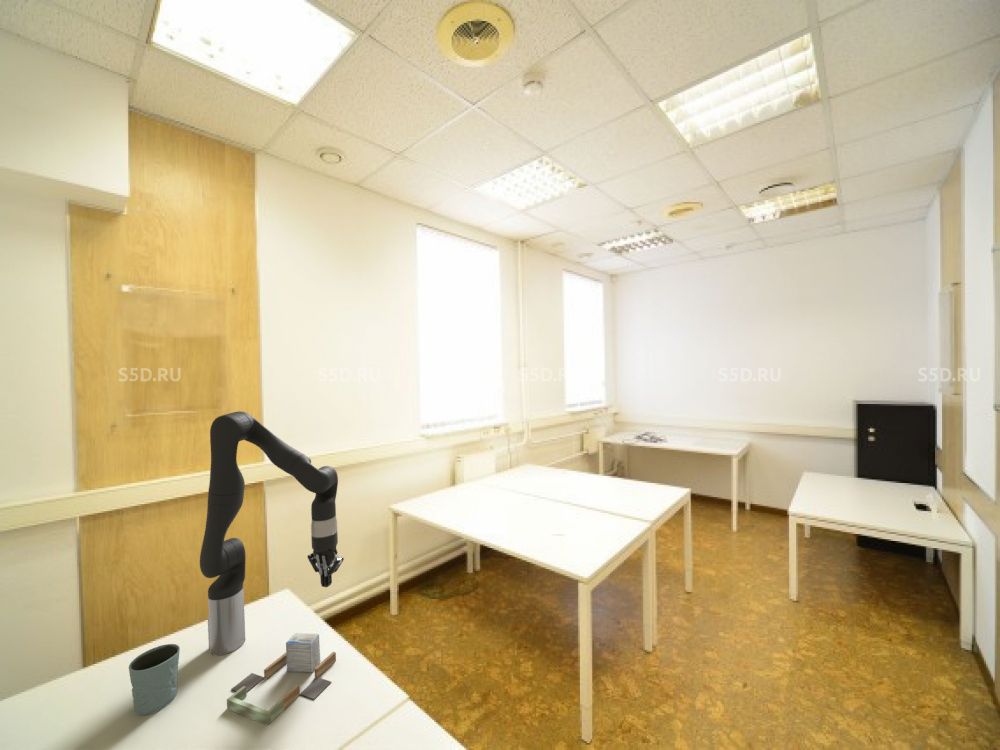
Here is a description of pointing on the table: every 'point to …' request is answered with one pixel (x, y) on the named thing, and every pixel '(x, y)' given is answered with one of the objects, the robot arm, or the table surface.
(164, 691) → the blue-grey vase
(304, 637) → the medicine box
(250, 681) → the trap channel
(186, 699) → the table surface
